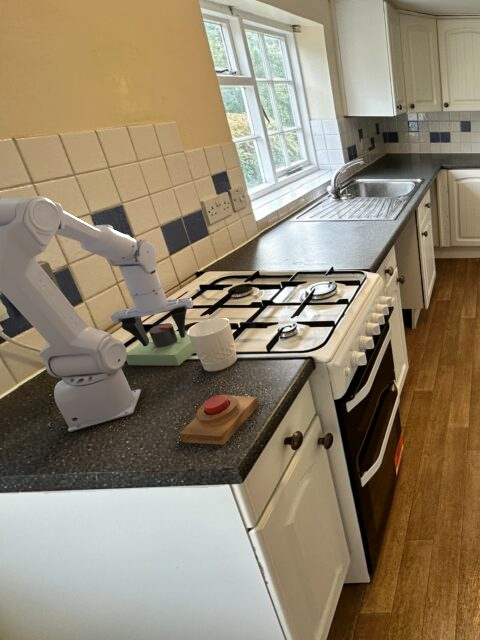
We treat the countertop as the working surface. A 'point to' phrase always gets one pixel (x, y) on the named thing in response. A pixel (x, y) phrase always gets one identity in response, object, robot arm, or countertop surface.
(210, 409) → the button
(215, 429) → the button block
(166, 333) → the dial
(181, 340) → the dial panel
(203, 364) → the white cup
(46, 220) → the robot arm
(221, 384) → the countertop surface
